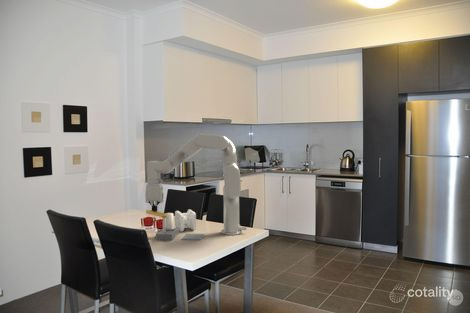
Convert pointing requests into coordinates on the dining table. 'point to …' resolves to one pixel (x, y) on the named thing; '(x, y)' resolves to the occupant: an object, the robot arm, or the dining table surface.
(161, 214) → the clip
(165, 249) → the dining table surface
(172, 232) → the grey stand
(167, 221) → the plug
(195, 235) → the mat
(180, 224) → the cable organizer
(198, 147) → the robot arm
